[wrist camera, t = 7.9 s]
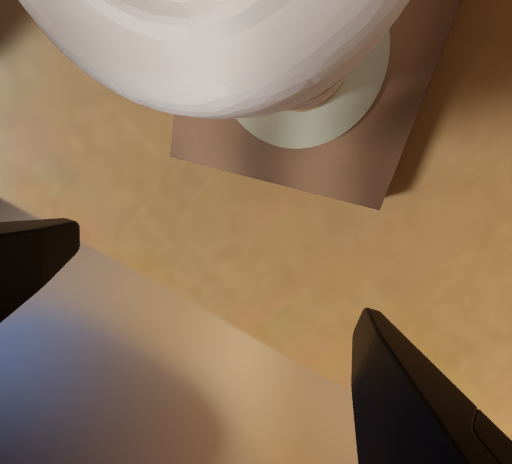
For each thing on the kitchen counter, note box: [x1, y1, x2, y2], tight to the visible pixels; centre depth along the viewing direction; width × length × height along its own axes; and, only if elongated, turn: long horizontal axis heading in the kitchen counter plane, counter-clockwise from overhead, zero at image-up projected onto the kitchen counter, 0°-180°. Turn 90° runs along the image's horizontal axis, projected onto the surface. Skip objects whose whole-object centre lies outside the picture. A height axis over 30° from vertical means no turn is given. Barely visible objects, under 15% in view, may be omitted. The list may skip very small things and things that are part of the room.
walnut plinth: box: [170, 0, 462, 210], centre depth 15 cm, size 12×12×2 cm
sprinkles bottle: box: [19, 0, 410, 119], centre depth 8 cm, size 5×5×14 cm
